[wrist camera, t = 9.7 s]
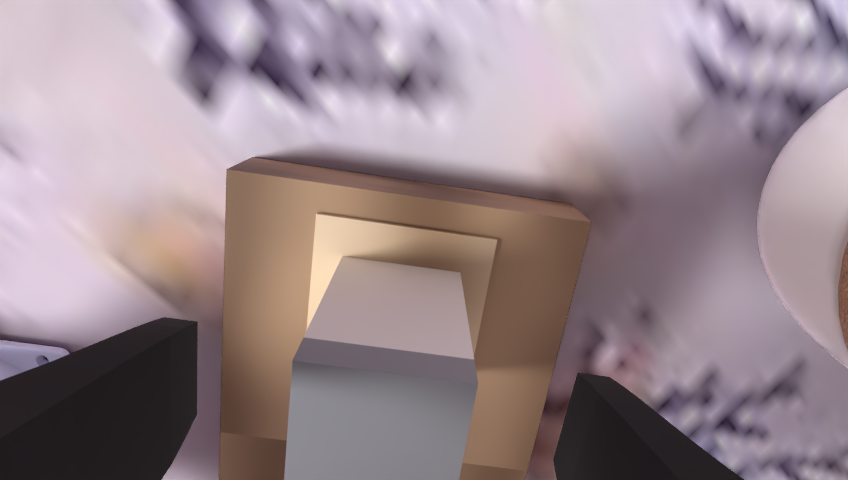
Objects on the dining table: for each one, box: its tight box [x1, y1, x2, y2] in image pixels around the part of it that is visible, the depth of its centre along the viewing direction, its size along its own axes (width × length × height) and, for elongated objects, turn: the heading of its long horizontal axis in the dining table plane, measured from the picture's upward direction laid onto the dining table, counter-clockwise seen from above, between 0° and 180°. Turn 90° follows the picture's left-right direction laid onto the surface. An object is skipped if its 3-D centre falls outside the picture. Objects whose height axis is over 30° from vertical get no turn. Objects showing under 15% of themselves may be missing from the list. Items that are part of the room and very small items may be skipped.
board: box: [219, 157, 592, 480], centre depth 20 cm, size 12×18×3 cm, turn 172°
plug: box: [284, 256, 478, 480], centre depth 15 cm, size 4×4×6 cm
